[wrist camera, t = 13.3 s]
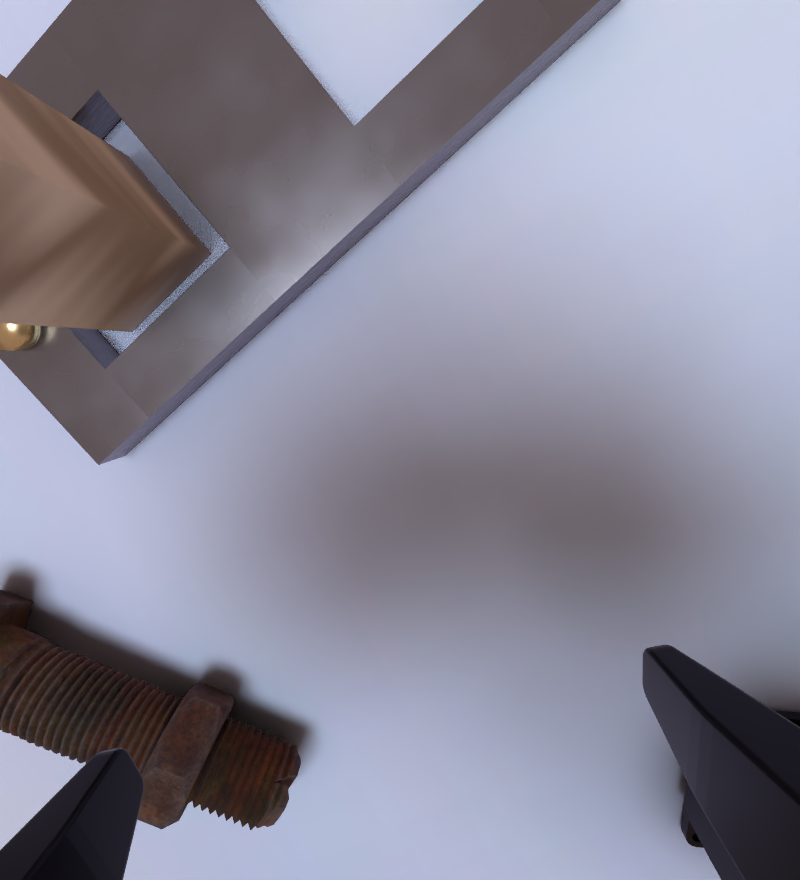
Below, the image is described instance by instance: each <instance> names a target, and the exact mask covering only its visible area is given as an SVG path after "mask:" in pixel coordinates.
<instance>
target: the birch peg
mask: <svg viewBox="0 0 800 880" xmlns="http://www.w3.org/2000/svg"><path fill="white" fill-rule="evenodd" d="M210 254H211V253H210V252H209V250H208V249H207V248H206V247H205V246H204V245H203V243H202V242H201V241H200V240H199V239H198V238H197V236H196V235H195V234H194V233H193V232H192V231H191V229H190V228H189V227H188V226H187V225H186V223H185V222H184V221H183V220H182V219H181V218H180V216H179V215H178V214H177V213H176V212H175V211H174V209H173V208H172V207H171V206H170V205H169V204H168V202H167V201H166V200H165V199H164V198H163V197H162V195H161V194H160V193H159V192H158V191H157V189H156V188H155V187H154V186H153V185H152V184H151V182H150V181H149V180H148V179H147V178H146V177H145V175H144V174H143V173H142V172H141V171H140V170H139V168H138V167H137V166H136V165H135V164H134V163H133V161H132V160H131V159H130V158H129V157H128V156H127V155H125V154H124V153H122V152H120V151H119V150H117V149H116V148H114V147H113V146H111V145H110V144H108V143H106V142H105V141H103V140H102V139H100V138H99V137H97V136H96V135H94V134H92V133H91V132H89V131H88V130H86V129H85V128H83V127H82V126H80V125H78V124H77V123H75V122H74V121H72V120H71V119H69V118H68V117H66V116H65V115H63V114H61V113H60V112H58V111H57V110H55V109H54V108H52V107H51V106H49V105H47V104H46V103H44V102H43V101H41V100H40V99H38V98H37V97H35V96H33V95H32V94H30V93H29V92H27V91H26V90H24V89H23V88H21V87H19V86H18V85H16V84H15V83H13V82H12V81H10V80H9V79H7V78H5V77H4V76H2V75H1V74H0V323H7V324H22V325H37V326H52V327H67V328H82V329H97V330H112V331H127V332H132V331H133V330H134V329H135V328H137V327H138V326H139V325H140V324H141V323H142V322H143V321H144V320H145V319H146V318H147V317H148V316H149V315H150V314H151V313H152V312H153V311H154V310H155V309H156V308H157V307H158V306H159V305H160V304H161V303H162V302H163V301H164V300H165V299H166V298H167V297H168V296H169V295H170V294H171V293H172V292H173V291H174V290H175V289H176V288H177V287H178V286H179V285H180V284H181V283H182V282H183V281H184V280H185V279H186V278H187V277H188V276H189V275H190V274H191V273H192V272H193V271H194V270H195V269H196V268H197V267H198V266H199V265H200V264H201V263H202V262H203V261H204V260H205V259H206V258H207V257H208V256H209V255H210Z"/></svg>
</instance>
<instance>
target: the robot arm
mask: <svg viewBox="0 0 800 880" xmlns="http://www.w3.org/2000/svg"><path fill="white" fill-rule="evenodd" d="M643 688H644V692H645V695H646V697H647V699H648V702H649V704H650V706H651V708H652V710H653V712H654V714H655V716H656V718H657V720H658V722H659V724H660V726H661V728H662V730H663V732H664V734H665V736H666V739H667V741H668V743H669V745H670V747H671V749H672V751H673V753H674V755H675V757H676V759H677V761H678V763H679V765H680V767H681V769H682V771H683V774H684V776H685V778H686V780H687V787H686V793H685V798H684V804H683V810H684V815H683V820H682V826H681V830H682V832H683V834H684V836H685V838H686V840H687V842H688V843H689V844H690V845H692V846H695V847H702V848H704V849H705V851H706V852H707V854H708V856H709V858H710V860H711V862H712V863H713V865H714V867H715V869H716V871H717V872H718V874H719V876H720V878H721V880H800V713H796V712H783V711H774V710H772V709H770V708H769V707H767V706H766V705H764V704H762V703H761V702H759V701H758V700H756V699H755V698H753V697H751V696H750V695H748V694H747V693H745V692H744V691H742V690H740V689H739V688H737V687H736V686H734V685H732V684H731V683H729V682H728V681H726V680H725V679H723V678H721V677H720V676H718V675H717V674H715V673H714V672H712V671H710V670H709V669H707V668H706V667H704V666H703V665H701V664H699V663H698V662H696V661H695V660H693V659H691V658H690V657H688V656H687V655H685V654H684V653H682V652H680V651H679V650H677V649H676V648H674V647H672V646H669V645H660V646H655V647H650V648H647V649H645V650H644V652H643ZM143 791H144V782H143V777H142V775H141V773H140V771H139V770H138V768H137V766H136V764H135V763H134V761H133V759H132V757H131V756H130V754H129V752H128V751H127V750H126V749H124V748H116V749H111V750H105V751H102V752H99V753H98V754H96V755H95V756H94V757H93V758H91V759H90V760H89V762H88V763H87V764H86V765H85V766H84V767H83V768H82V769H81V770H80V771H79V772H78V773H77V774H76V775H75V776H74V777H73V778H72V779H71V780H70V781H69V782H68V783H67V784H66V785H65V786H64V787H63V788H62V789H61V790H60V791H59V792H58V793H57V794H56V795H55V796H54V797H53V798H52V799H51V800H50V801H49V802H48V803H47V804H46V805H45V806H44V807H43V808H42V809H41V810H40V811H39V812H38V813H37V814H36V815H35V816H34V817H33V818H32V819H31V820H30V821H29V822H28V823H27V824H26V825H25V826H24V827H23V828H22V829H21V830H20V831H19V832H18V833H17V834H16V835H15V836H14V837H13V838H12V839H11V840H10V841H9V842H8V843H7V844H6V845H5V846H4V847H3V848H2V849H1V850H0V880H123V877H124V872H125V868H126V864H127V860H128V856H129V851H130V847H131V843H132V839H133V835H134V830H135V826H136V822H137V818H138V814H139V809H140V805H141V801H142V797H143Z"/></svg>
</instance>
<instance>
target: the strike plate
mask: <svg viewBox="0 0 800 880" xmlns="http://www.w3.org/2000/svg"><path fill="white" fill-rule="evenodd" d="M619 1H620V0H484V1H483V2H482V3H481V4H480V5H479V6H478V7H477V8H476V9H474V10H473V11H472V12H471V13H470V14H469V15H468V16H467V17H466V18H465V19H464V20H463V21H462V22H461V23H460V24H459V25H458V26H457V27H456V28H455V29H454V30H453V31H452V32H451V33H450V34H449V35H448V36H447V37H446V38H445V39H444V40H443V41H442V42H441V43H440V44H439V45H438V46H436V47H435V48H434V49H433V50H432V51H431V52H430V53H429V54H428V55H427V56H426V57H425V58H424V59H423V60H422V61H421V62H420V63H419V64H418V65H417V66H416V67H415V68H414V69H413V70H412V71H411V72H410V73H409V74H408V75H407V76H406V77H405V78H404V79H403V80H402V81H401V82H400V83H399V84H397V85H396V86H395V87H394V88H393V89H392V90H391V91H390V92H389V93H388V94H387V95H386V96H385V97H384V98H383V99H382V100H381V101H380V102H379V103H378V104H377V105H376V106H375V107H374V108H373V109H372V110H371V111H370V112H369V113H368V114H367V115H366V116H365V117H364V118H363V119H362V120H361V121H359V122H358V123H357V124H356V125H355V126H353V125H352V124H351V122H350V121H349V120H348V118H347V117H346V116H345V115H344V113H343V112H342V111H341V109H340V108H339V107H338V106H337V104H336V103H335V102H334V101H333V99H332V98H331V97H330V95H329V94H328V93H327V92H326V90H325V89H324V88H323V86H322V85H321V84H320V83H319V81H318V80H317V79H316V78H315V76H314V75H313V74H312V72H311V71H310V70H309V69H308V67H307V66H306V65H305V63H304V62H303V61H302V60H301V58H300V57H299V56H298V55H297V53H296V52H295V51H294V49H293V48H292V47H291V46H290V44H289V43H288V42H287V40H286V39H285V38H284V37H283V35H282V34H281V33H280V32H279V30H278V29H277V28H276V26H275V25H274V24H273V23H272V21H271V20H270V19H269V17H268V16H267V15H266V14H265V12H264V11H263V10H262V9H261V7H260V6H259V5H258V3H257V2H256V1H255V0H72V1H71V2H70V3H69V4H68V5H67V7H66V8H65V9H64V10H63V11H62V13H61V14H60V15H59V16H58V17H57V19H56V20H55V21H54V22H53V23H52V25H51V26H50V27H49V28H48V29H47V30H46V32H45V33H44V34H43V35H42V36H41V38H40V39H39V40H38V41H37V42H36V44H35V45H34V46H33V47H32V48H31V50H30V51H29V52H28V53H27V54H26V55H25V57H24V58H23V59H22V60H21V61H20V63H19V64H18V65H17V66H16V67H15V69H14V70H13V71H12V72H11V73H10V75H9V76H8V77H7V79H9V80H10V81H12V82H13V83H15V84H16V85H18V86H19V87H21V88H23V89H24V90H26V91H27V92H29V93H30V94H32V95H33V96H35V97H37V98H38V99H40V100H41V101H43V102H44V103H46V104H47V105H49V106H51V107H52V108H54V109H55V110H57V111H58V112H60V113H61V114H63V115H65V116H66V117H68V118H69V119H71V120H72V121H74V122H75V123H77V124H78V125H80V126H82V127H83V128H85V129H86V130H88V131H89V132H91V133H92V134H94V135H96V136H97V137H99V138H100V139H103V138H104V137H105V136H106V135H107V134H108V132H109V131H110V130H111V129H112V128H113V127H114V126H115V125H116V124H117V123H118V122H119V120H120V119H121V118H122V119H123V121H124V122H125V123H126V124H127V125H128V126H129V128H130V129H131V130H132V131H133V132H134V134H135V135H136V136H137V137H138V138H139V140H140V141H141V142H142V143H143V144H144V146H145V147H146V148H147V149H148V150H149V151H150V153H151V154H152V155H153V156H154V157H155V159H156V160H157V161H158V162H159V163H160V165H161V166H162V167H163V168H164V169H165V171H166V172H167V173H168V174H169V175H170V177H171V178H172V179H173V180H174V181H175V182H176V184H177V185H178V186H179V187H180V188H181V190H182V191H183V192H184V193H185V194H186V196H187V197H188V198H189V199H190V200H191V202H192V203H193V204H194V205H195V206H196V207H197V209H198V210H199V211H200V212H201V213H202V215H203V216H204V217H205V218H206V219H207V221H208V222H209V223H210V224H211V225H212V227H213V228H214V229H215V230H216V231H217V232H218V234H219V235H220V236H221V237H222V238H223V240H224V241H225V242H226V243H227V244H228V246H229V247H230V248H229V249H228V250H227V251H226V252H225V253H224V254H223V255H222V256H221V257H220V258H219V259H218V260H217V261H216V262H215V263H214V264H213V265H212V266H211V267H210V268H209V269H207V270H206V271H205V272H204V273H203V274H202V275H201V276H200V277H199V278H198V279H197V280H196V281H195V282H194V283H193V284H192V285H191V286H190V287H189V288H188V289H187V290H186V291H185V292H184V293H183V294H182V295H181V296H180V297H179V298H178V299H177V300H176V301H175V302H174V303H173V304H172V305H171V306H169V307H168V308H167V309H166V310H165V311H164V312H163V313H162V314H161V315H160V316H159V317H158V318H157V319H156V320H155V321H154V322H153V323H152V324H151V325H150V326H149V327H148V328H147V329H146V330H145V331H144V332H143V333H142V334H141V335H140V336H139V337H138V338H137V339H136V340H135V341H134V342H133V343H132V344H130V345H129V346H128V347H127V348H126V349H125V350H124V351H123V352H122V353H121V354H120V355H119V354H118V353H117V352H116V351H115V350H114V348H113V347H112V346H111V345H110V344H109V343H108V342H107V341H106V339H105V338H104V337H103V336H102V335H101V334H100V333H99V332H98V331H97V329H82V328H67V327H52V326H37V325H22V324H7V323H0V359H1V360H2V361H3V362H4V363H5V364H6V365H7V367H8V368H9V369H10V370H11V371H12V372H13V373H14V374H15V375H16V376H17V377H18V378H19V380H20V381H21V382H22V383H23V384H24V385H25V386H26V387H27V388H28V389H29V390H30V391H31V392H32V394H33V395H34V396H35V397H36V398H37V399H38V400H39V401H40V402H41V403H42V404H43V405H44V407H45V408H46V409H47V410H48V411H49V412H50V413H51V414H52V415H53V416H54V417H55V418H56V419H57V421H58V422H59V423H60V424H61V425H62V426H63V427H64V428H65V429H66V430H67V431H68V432H69V433H70V435H71V436H72V437H73V438H74V439H75V440H76V441H77V442H78V443H79V444H80V445H81V446H82V448H83V449H84V450H85V451H86V452H87V453H88V454H89V455H90V456H91V457H92V458H93V459H94V460H95V462H96V463H97V464H98V465H100V464H103V463H105V462H108V461H111V460H114V459H117V458H120V457H123V456H125V455H126V454H127V453H128V452H129V451H130V450H131V449H132V448H134V447H135V446H136V445H137V444H138V443H139V442H140V441H141V440H142V439H143V438H144V437H145V436H147V435H148V434H149V433H150V432H151V431H152V430H153V429H154V428H155V427H156V426H157V425H159V424H160V423H161V422H162V421H163V420H164V419H165V418H166V417H167V416H168V415H169V414H171V413H172V412H173V411H174V410H175V409H176V408H177V407H178V406H179V405H180V404H181V403H183V402H184V401H185V400H186V399H187V398H188V397H189V396H190V395H191V394H192V393H193V392H194V391H196V390H197V389H198V388H199V387H200V386H201V385H202V384H203V383H204V382H205V381H206V380H208V379H209V378H210V377H211V376H212V375H213V374H214V373H215V372H216V371H217V370H218V369H220V368H221V367H222V366H223V365H224V364H225V363H226V362H227V361H228V360H229V359H230V358H232V357H233V356H234V355H235V354H236V353H237V352H238V351H239V350H240V349H241V348H242V347H244V346H245V345H246V344H247V343H248V342H249V341H250V340H251V339H252V338H253V337H254V336H255V335H257V334H258V333H259V332H260V331H261V330H262V329H263V328H264V327H265V326H266V325H267V324H269V323H270V322H271V321H272V320H273V319H274V318H275V317H276V316H277V315H278V314H279V313H281V312H282V311H283V310H284V309H285V308H286V307H287V306H288V305H289V304H290V303H291V302H293V301H294V300H295V299H296V298H297V297H298V296H299V295H300V294H301V293H302V292H303V291H304V290H306V289H307V288H308V287H309V286H310V285H311V284H312V283H313V282H314V281H315V280H316V279H318V278H319V277H320V276H321V275H322V274H323V273H324V272H325V271H326V270H327V269H328V268H330V267H331V266H332V265H333V264H334V263H335V262H336V261H337V260H338V259H339V258H340V257H342V256H343V255H344V254H345V253H346V252H347V251H348V250H349V249H350V248H351V247H352V246H353V245H355V244H356V243H357V242H358V241H359V240H360V239H361V238H362V237H363V236H364V235H365V234H367V233H368V232H369V231H370V230H371V229H372V228H373V227H374V226H375V225H376V224H377V223H379V222H380V221H381V220H382V219H383V218H384V217H385V216H386V215H387V214H388V213H389V212H391V211H392V210H393V209H394V208H395V207H396V206H397V205H398V204H399V203H400V202H401V201H403V200H404V199H405V198H406V197H407V196H408V195H409V194H410V193H411V192H412V191H413V190H414V189H416V188H417V187H418V186H419V185H420V184H421V183H422V182H423V181H424V180H425V179H426V178H428V177H429V176H430V175H431V174H432V173H433V172H434V171H435V170H436V169H437V168H438V167H440V166H441V165H442V164H443V163H444V162H445V161H446V160H447V159H448V158H449V157H450V156H452V155H453V154H454V153H455V152H456V151H457V150H458V149H459V148H460V147H461V146H462V145H463V144H465V143H466V142H467V141H468V140H469V139H470V138H471V137H472V136H473V135H474V134H475V133H477V132H478V131H479V130H480V129H481V128H482V127H483V126H484V125H485V124H486V123H487V122H489V121H490V120H491V119H492V118H493V117H494V116H495V115H496V114H497V113H498V112H499V111H501V110H502V109H503V108H504V107H505V106H506V105H507V104H508V103H509V102H510V101H511V100H512V99H514V98H515V97H516V96H517V95H518V94H519V93H520V92H521V91H522V90H523V89H524V88H526V87H527V86H528V85H529V84H530V83H531V82H532V81H533V80H534V79H535V78H536V77H538V76H539V75H540V74H541V73H542V72H543V71H544V70H545V69H546V68H547V67H548V66H550V65H551V64H552V63H553V62H554V61H555V60H556V59H557V58H558V57H559V56H560V55H562V54H563V53H564V52H565V51H566V50H567V49H568V48H569V47H570V46H571V45H572V44H573V43H575V42H576V41H577V40H578V39H579V38H580V37H581V36H582V35H583V34H584V33H585V32H587V31H588V30H589V29H590V28H591V27H592V26H593V25H594V24H595V23H596V22H597V21H599V20H600V19H601V18H602V17H603V16H604V15H605V14H606V13H607V12H608V11H609V10H611V9H612V8H613V7H614V6H615V5H616V4H617V3H618V2H619Z"/></svg>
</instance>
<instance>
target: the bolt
mask: <svg viewBox="0 0 800 880" xmlns="http://www.w3.org/2000/svg"><path fill="white" fill-rule="evenodd" d="M32 604H33V602H32V601H30V600H28V599H25V598H23V597H20V596H18V595H16V594H13V593H11V592H8V591H3V590H0V730H2V731H3V732H6V733H11V734H12V735H14V736H19V738H20V739H23V740H27V742H29V743H35V745H36V746H37V747H39V746H43V748H44V749H46V750H51V749H52V751H53V752H54V753H56V754H57V753H61V756H69V759H71V760H74V759H76V758H77V761H78V762H79V763H83V762H85V761H86V764H87V763H88V762H89V760H90V759H91V758H93V757H94V756H95V755H96V754H98V753H99V752H102V751H105V750H111V749H116V748H124V749H126V750H127V751H128V752H129V754H130V756H131V757H132V759H133V761H134V763H135V764H136V766H137V768H138V770H139V771H140V773H141V775H142V777H143V782H144V791H143V797H142V801H141V805H140V809H139V814H138V818H137V820H140V821H143V822H145V823H148V824H150V825H153V826H155V827H158V828H160V829H163V828H165V827H167V826H169V825H171V824H173V823H175V822H177V821H179V819H180V817H181V816H182V814H183V812H184V810H185V808H186V806H187V804H188V803H190V802H191V801H192V800H193V806H194V808H195V807H196V806H198V805H199V804H200V805H201V810H202V811H203V810H204V809H206V808H207V807H208V809H209V813H210V814H211V813H212V812H214V811H215V810H216V812H217V815H218V817H219V816H221V815H222V814H223V813H224V814H225V818H226V821H227V820H228V819H229V818H230V817H233V821H234V824H235V823H236V822H237V821H239V820H240V821H241V824H242V827H243V826H244V825H245V824H247V823H248V824H249V827H250V830H251V829H253V828H254V827H255V826H256V828H259V827H262V826H267V827H269V826H271V825H274V824H275V822H276V821H277V820H278V818H279V817H280V816H281V814H282V813H283V811H284V810H285V807H286V805H287V803H288V800H289V794H288V789H289V787H290V786H291V784H292V783H293V781H294V780H295V778H296V777H297V775H298V771H299V768H300V764H301V759H300V756H299V754H298V751H297V745H296V744H295V745H293V746H291V747H290V741H289V740H288V741H287V742H285V743H284V742H283V737H282V738H281V739H279V740H277V739H276V735H274V736H272V737H269V732H267V733H265V734H263V735H262V730H261V729H260V730H258V731H256V732H255V728H254V726H252V727H251V728H249V729H248V727H247V723H246V724H244V725H242V726H240V720H238V721H236V722H234V723H233V719H232V718H230V719H228V717H229V715H230V713H231V710H232V708H233V706H234V700H233V697H232V695H231V694H229V693H226V692H224V691H222V690H219V689H217V688H215V687H212V686H210V685H207V684H198V685H194V686H193V687H192V688H191V689H190V690H189V691H188V693H187V694H186V695H185V697H184V698H183V699H182V698H181V696H179V697H178V698H176V699H175V698H174V693H172V694H170V695H168V696H167V690H164V691H163V692H161V693H160V688H159V687H157V688H155V689H152V684H149V685H147V686H146V687H145V681H141V682H139V683H138V679H137V678H133V679H132V680H131V676H130V675H126V676H124V677H123V672H121V671H120V672H118V673H116V671H115V669H114V668H113V669H109V668H108V666H107V665H105V666H101V663H99V662H97V663H94V662H93V660H92V659H89V660H86V657H84V656H80V657H79V655H78V654H77V653H71V651H69V650H64V649H63V648H62V647H57V646H56V645H54V644H52V643H50V642H49V641H48V639H46V638H44V637H42V636H39V635H37V634H35V633H32V632H30V631H28V630H25V627H26V623H27V620H28V617H29V614H30V611H31V608H32Z"/></svg>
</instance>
